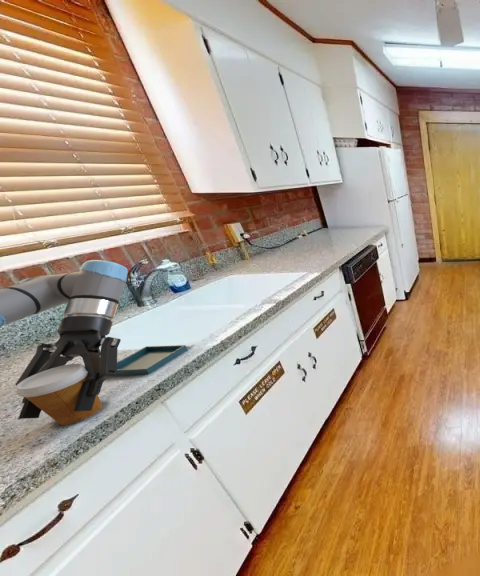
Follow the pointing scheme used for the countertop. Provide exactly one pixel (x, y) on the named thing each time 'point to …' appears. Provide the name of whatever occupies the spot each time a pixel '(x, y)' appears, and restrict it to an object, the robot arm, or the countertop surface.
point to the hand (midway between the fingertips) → (56, 414)
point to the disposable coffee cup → (58, 392)
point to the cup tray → (148, 359)
